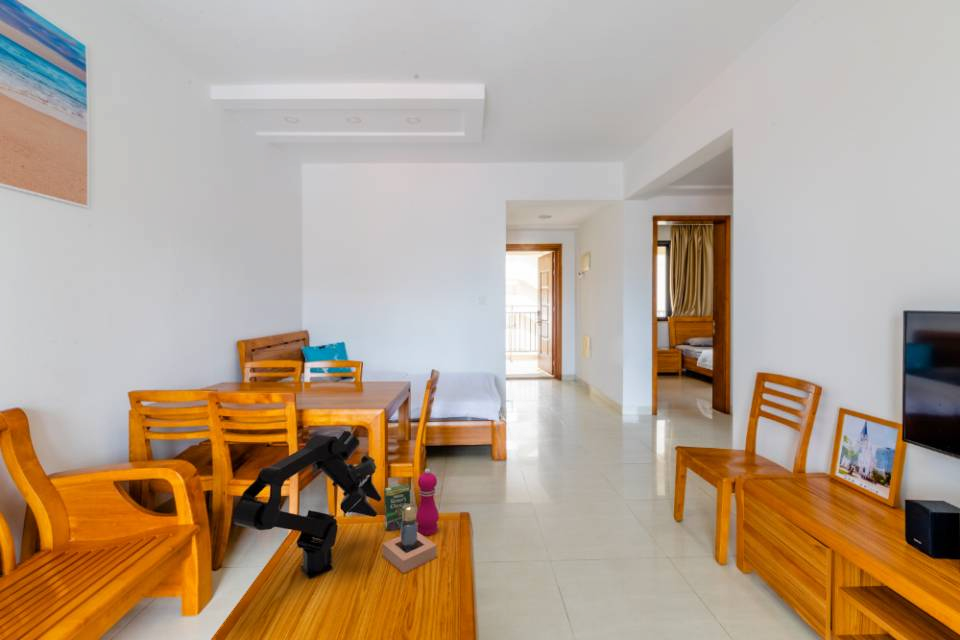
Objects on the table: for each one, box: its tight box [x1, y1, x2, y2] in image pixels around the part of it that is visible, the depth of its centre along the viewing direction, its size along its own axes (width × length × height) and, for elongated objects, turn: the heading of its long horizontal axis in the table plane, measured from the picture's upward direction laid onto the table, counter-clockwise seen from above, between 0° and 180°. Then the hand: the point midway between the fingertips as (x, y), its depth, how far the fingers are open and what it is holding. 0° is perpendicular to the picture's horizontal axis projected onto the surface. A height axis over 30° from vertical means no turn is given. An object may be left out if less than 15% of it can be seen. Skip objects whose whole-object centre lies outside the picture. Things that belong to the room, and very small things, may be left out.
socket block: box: [382, 531, 438, 574], centre depth 125 cm, size 11×11×4 cm
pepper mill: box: [415, 468, 440, 536], centre depth 139 cm, size 7×7×20 cm
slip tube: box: [400, 503, 418, 553], centre depth 125 cm, size 5×5×14 cm
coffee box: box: [383, 483, 411, 532], centre depth 141 cm, size 8×3×13 cm, turn 111°
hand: (378, 507), depth 126 cm, fingers open, 9 cm apart
